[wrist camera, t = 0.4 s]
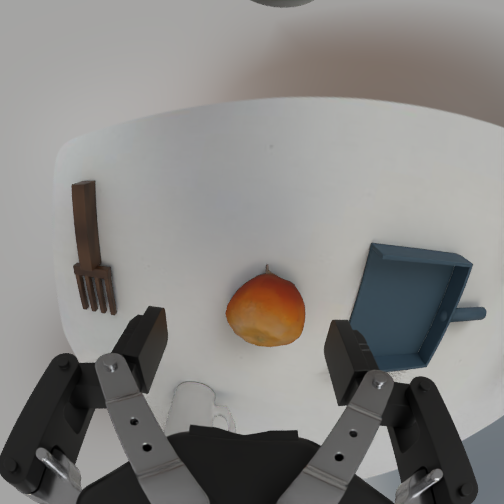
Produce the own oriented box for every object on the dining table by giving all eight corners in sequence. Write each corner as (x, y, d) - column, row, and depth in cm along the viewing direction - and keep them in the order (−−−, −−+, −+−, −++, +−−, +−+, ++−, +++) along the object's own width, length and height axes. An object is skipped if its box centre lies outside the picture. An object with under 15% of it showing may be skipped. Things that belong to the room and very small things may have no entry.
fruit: (326, 275, 29) (317, 345, 24) (289, 303, 35) (275, 361, 30) (260, 240, 27) (236, 311, 22) (232, 276, 33) (210, 335, 28)
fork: (72, 181, 26) (60, 185, 24) (107, 180, 26) (96, 184, 24) (88, 302, 32) (79, 312, 30) (119, 308, 32) (112, 319, 30)
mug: (181, 405, 40) (167, 464, 28) (169, 379, 37) (150, 444, 26) (241, 405, 39) (238, 469, 28) (234, 379, 37) (229, 450, 26)
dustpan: (336, 357, 35) (341, 375, 32) (371, 242, 29) (383, 254, 26) (457, 347, 36) (466, 359, 32) (496, 259, 29) (509, 268, 26)
